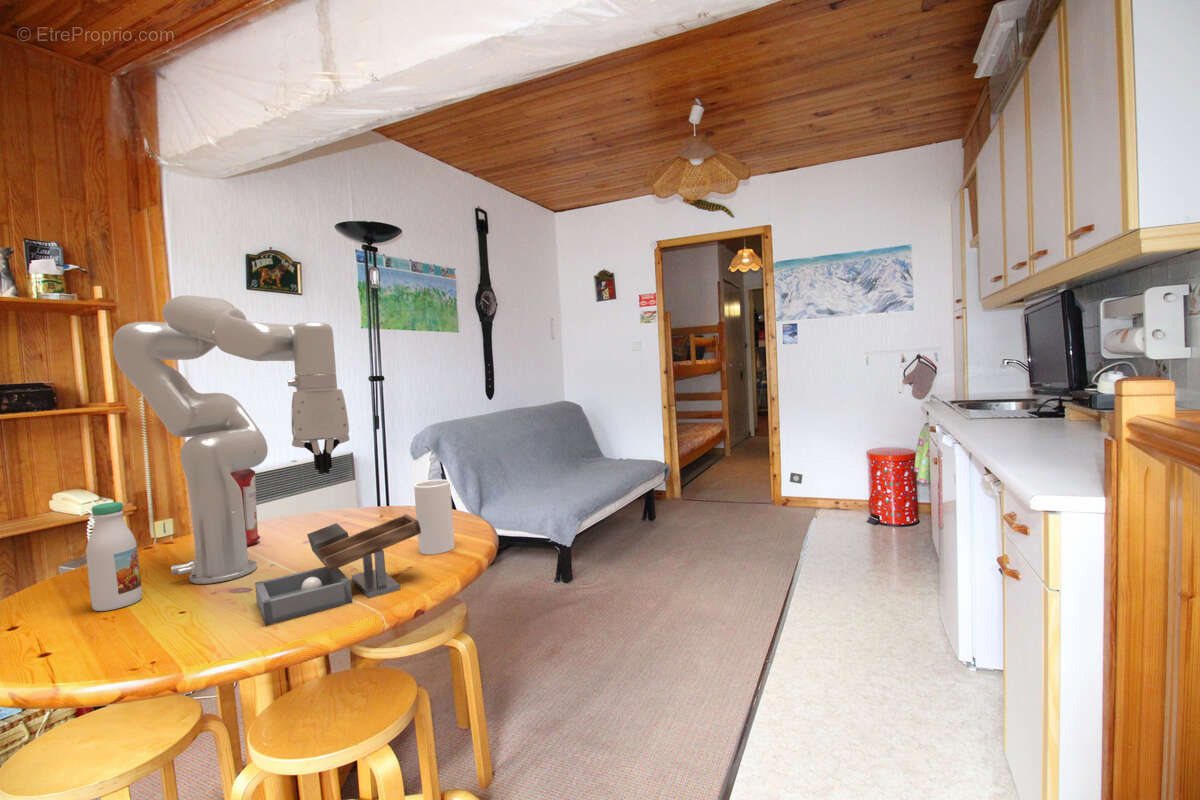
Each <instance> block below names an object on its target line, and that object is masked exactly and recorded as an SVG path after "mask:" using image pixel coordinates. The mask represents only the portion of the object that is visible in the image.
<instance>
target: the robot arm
mask: <svg viewBox="0 0 1200 800" xmlns="http://www.w3.org/2000/svg"><path fill="white" fill-rule="evenodd" d="M162 318H163V320H164V322H163V321H162V322H161V321H135V322H130V323H127V324H124V325H122V326H120V327H119V328H118V329H117V330H116V331H115V333H114V335H113V337H112V338H113V339H112V352H113V353H112V354H113V356H114V357H113V358H114V361H115V363H116V365H117V366H118V368H119V370H120V371H121V373H122V374H123V375H124V376H125V378H127V380H128V381H129V382H130V383H131V384H132V385H133V386H135V387H136V389H137V391H139V392H140V393H141V395H142V396H143V397H144V398H145V400H146V402H147V404H149V406H150V408H151V409H152V410H153V411H154V413H155V414H156V416H157V417H158V419H159V420H160V422H161V423H162V424H163V426H164V427H165V428H166V430H167V431H168V432H169V433H170V434H171V435H173V436H175V437H178V438H188V439H187V440H186V441H185V442H184V444H183V445H182V446H181V449H180V451H179V452H180V453H179V457H180V459H179V460H180V463H181V468H182V469H183V472H184V475H185V478H186V483H187V487H188V492H189V500H190V509H191V510H190V511H191V519H192V529H193V537H194V538H193V539H194V548H195V556H194V559H193V560H189V561H188V562H187V563H177V564H173V565H170V566H171V567H170V568H171V575H172V576H173V575H178V576H182V575H186V574H189V573H190V574H189V577H188V579H189V582H190V583H192V584H196V585H198V584H199V585H200V584H201V585H204V584H205V585H206V584H215V583H216V584H217V583H221V582H227V581H230V580H235V579H238V578H241V577H243V576H244V577H245V576H246V575H248V574H250V573H252V572H254V571H255V570H256V569H257V567H258V565H257V561H256V560H253V559H249V554H248V546H247V542H246V531H245V520H244V510H243V500H242V492H241V489H240V487H239V485H238V484H237V482H236V481H235V480H234V478H233V477H232V476H231V474H230V473H232V472H235V471H239V470H244V469H248V468H250V469H253V468H255V467H257V466H259V465H261V464H262V463H263V462H265V460H266V459H267V456H268V450H269V449H268V444H267V440H266V437H265V436H264V434H263V433H262V432H261V430H260V428H259V427H258V426H257V424H256V423H255V422H254V420H253V419H252V418H251V417H252V416H250V415H249V413H248V412H247V411H246V409H245V407H244V406H243V405H242V404H241V402H239V400H237V399H236V398H235V397H233V396H232V395H230V394H227V393H224V392H223V393H222V392H211V393H207V392H206V393H201V392H198V391H196V390H195V389H194V388H193V387H192V385H190V384H189V382H188V380H187V379H186V378H185V376H183V374H182V373H180V371H178V370H177V369H175V368H174V367H172V366H170V365H169V364H166V363H165V362H164V361H169V360H170V361H172V360H174V361H180V360H181V361H186V360H189V361H190V360H195V359H199V358H201V357H203V356H204V355H206V354H207V353H209V352H210V351H212V350H213V349H215V347H217V348H218V349H220V351H221V352H223V353H224V354H225V353H226V354H228V355H232V356H235V357H238V358H242V359H245V360H249V361H254V362H278V361H279V362H290V361H291V362H294V363H293V365H294V373H295V374H294V375H295V376H294V377H293V378H291V379H287V385H288V387H292V388H293V387H294V388H295V389H296V391H293V392H292V397H291V399H292V400H291V432H292V433H291V434H292V441H291V445H292V447H294V448H302V449H307V450H308V451H309V453H310V452H311V453H312V454H313V463H314V470H315V471H317V473H318V474H319V475H323V474H330V469H332V468H333V462H332V453H333V451H334V450H335V449H336V448H337V447H338V446H339V444H343V443H346V442H349V441H350V440H351V439H350V436H349V432H350V426H349V425H350V424H349V418H348V412H347V411H348V409H347V405H346V400H345V395H344V392H343V390H342V389H341V388H340V389H339V388H338V383H337V382H338V379H337V371H336V370H337V368H336V357H335V355H336V354H335V342H334V331H333V327H332V326H331V325H330V324H329V323H326V322H313V321H312V322H299V323H297V324H295V325H294V324H282V323H269V322H268V323H267V322H265V323H264V322H254V321H249V320H247V317H246V315H245V314H244V312H242V311H241V310H240V309H239V308H236V307H235V306H234V305H233V304H232V303H231V302H230V301H228V300H226V299H223V298H222V299H221V298H217V297H215V298H214V297H207V296H197V295H177V296H175V297H173V298H171V299H169V300H168V301H167V302H165V304H164V306H163V307H162ZM163 360H164V361H163ZM319 440H324V443H323V444H324V445H323V450H322V451H321V449H320V443H319Z"/></svg>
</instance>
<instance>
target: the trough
mask: <svg viewBox="0 0 1200 800" xmlns="http://www.w3.org/2000/svg"><path fill="white" fill-rule="evenodd" d="M420 530H421V529H420V525H419V522H418V520H417V518H413V517H412V516H410V515H408V514H403V515H401V516H398V517H396V518H393V519H390V520H387V521H385V522H383V523H379V524H378V525H375V526H373V527H370V528H367V529H365V530H362V531H360V532H358V533H355V534H353V535H350V536H349V533H348V531H347V530H345V529H344V528H343V527H342V526H340V525H339V524H338V522H337V523H333V524H330V525H327V526H324V527H322V528H320V529H318V530H314V531H312V532H310V533H307V534H306V535H307V538H308V541H309V542H308V543H309V544H310V547H311V548H310V549H311V550H312V552H313V553H314V555H315V556H316V557H317V558H318V559H319V561H320V562H321V563H322V565H324V567H326V568H327V569H328V570H329V571H332V570H335V569H337V568H339V569H340V568H342V567H344V566H346V565H349V564H351V563H354V562H356V561H359V560H361V559H363V557H366V556H368V555H370V554H374V552H375V551H379V550H385V549H387V548H389V547H391V546H394V545H396V544H399V543H401V542H403V541H406V540H408V539H410V538H413V537H415V536H418V534H420V533H421V531H420Z"/></svg>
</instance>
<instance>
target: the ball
mask: <svg viewBox="0 0 1200 800" xmlns="http://www.w3.org/2000/svg"><path fill="white" fill-rule="evenodd" d="M319 587H322V583H321V581H320V579H318V578H316V577H310V578H307V579H306V580H305V581H304V582H303V583H302V587H301V589H302V591H306V590H310V589H314V588H319Z"/></svg>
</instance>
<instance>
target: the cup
mask: <svg viewBox="0 0 1200 800" xmlns="http://www.w3.org/2000/svg"><path fill="white" fill-rule="evenodd" d="M413 491H414V503H415V513H416V515H415V516H416V518H415V519H416V520H418V522H419V525H420V529H421V530H420V531H421V533H420V534H418V535H417V540H418V541H417V542H418V552H419V553H420V554H422V555H437V554H438V555H441V554H444V553H447V552H450V551H453V550H454V548H455V547H456V545H455V534H454V520H453V518H454V517H453V505H452V492H451V482H450V480H449V479H430V480H429V479H428V480H423V481H419V482H416V483H414V485H413Z"/></svg>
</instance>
